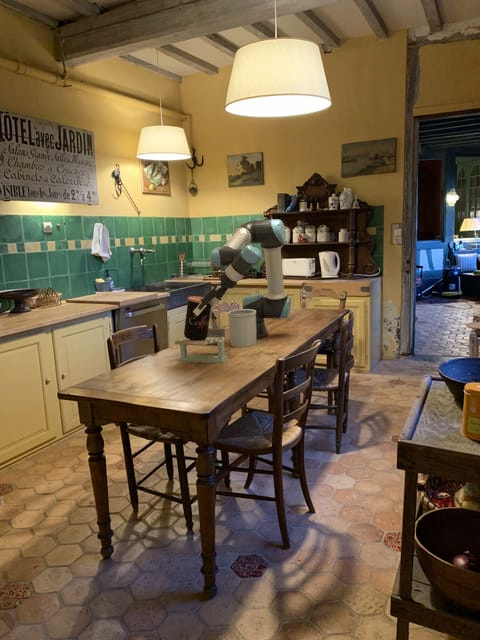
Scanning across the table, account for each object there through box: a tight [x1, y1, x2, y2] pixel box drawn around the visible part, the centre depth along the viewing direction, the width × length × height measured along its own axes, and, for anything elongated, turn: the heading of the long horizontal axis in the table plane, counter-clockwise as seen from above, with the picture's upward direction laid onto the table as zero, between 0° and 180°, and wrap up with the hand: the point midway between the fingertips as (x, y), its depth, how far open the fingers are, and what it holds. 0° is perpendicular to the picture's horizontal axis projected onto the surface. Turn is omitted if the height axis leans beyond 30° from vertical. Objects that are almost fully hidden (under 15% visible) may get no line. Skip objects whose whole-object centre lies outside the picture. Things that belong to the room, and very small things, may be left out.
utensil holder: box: [227, 308, 257, 348], centre depth 258 cm, size 15×15×18 cm
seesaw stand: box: [177, 338, 228, 364], centre depth 233 cm, size 8×22×10 cm, turn 72°
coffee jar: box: [183, 295, 212, 341], centre depth 222 cm, size 11×11×18 cm
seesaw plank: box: [174, 327, 226, 347], centre depth 231 cm, size 27×16×7 cm, turn 162°
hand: (201, 310), depth 219 cm, fingers open, 13 cm apart
